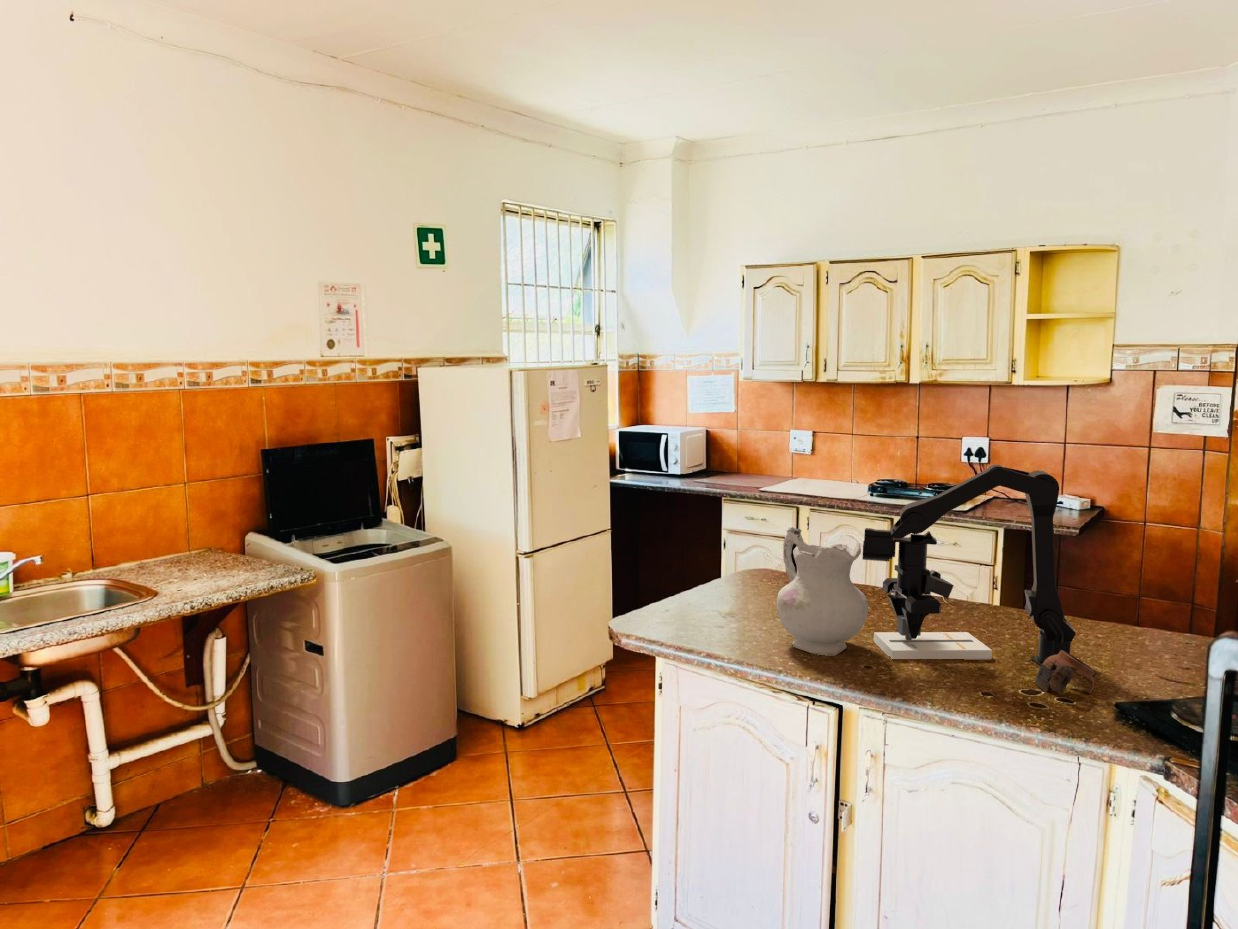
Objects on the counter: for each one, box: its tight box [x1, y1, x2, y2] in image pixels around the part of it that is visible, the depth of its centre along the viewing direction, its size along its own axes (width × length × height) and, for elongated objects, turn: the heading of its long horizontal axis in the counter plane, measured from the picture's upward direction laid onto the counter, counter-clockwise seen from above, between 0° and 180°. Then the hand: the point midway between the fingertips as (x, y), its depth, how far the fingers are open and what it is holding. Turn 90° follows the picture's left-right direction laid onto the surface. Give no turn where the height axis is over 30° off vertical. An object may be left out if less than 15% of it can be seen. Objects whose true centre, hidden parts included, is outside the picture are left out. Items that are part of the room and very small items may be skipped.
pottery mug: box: [1034, 650, 1097, 695], centre depth 166 cm, size 12×10×8 cm
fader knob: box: [896, 615, 922, 640], centre depth 188 cm, size 3×4×5 cm
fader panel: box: [873, 631, 993, 660], centre depth 189 cm, size 12×21×2 cm, turn 92°
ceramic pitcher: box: [776, 527, 869, 657], centre depth 190 cm, size 22×20×25 cm
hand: (908, 634), depth 188 cm, fingers open, 5 cm apart
